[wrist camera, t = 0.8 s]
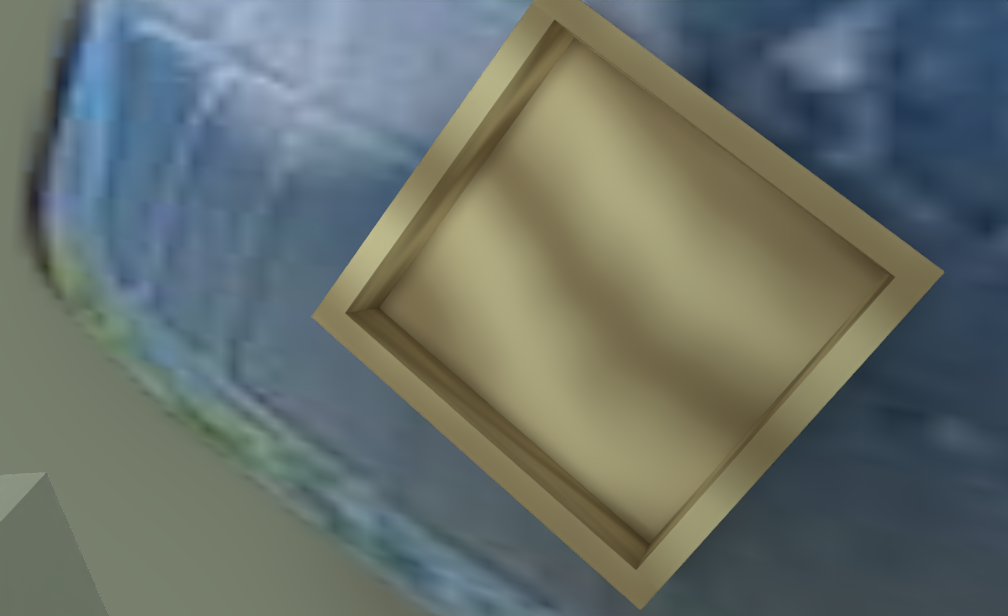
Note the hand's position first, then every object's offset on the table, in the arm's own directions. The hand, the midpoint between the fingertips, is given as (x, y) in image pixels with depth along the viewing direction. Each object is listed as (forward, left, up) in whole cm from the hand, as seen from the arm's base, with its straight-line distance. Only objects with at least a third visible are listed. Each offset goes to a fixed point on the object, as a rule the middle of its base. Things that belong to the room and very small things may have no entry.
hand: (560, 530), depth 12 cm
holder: (+1, -4, -25) cm, 25 cm away
